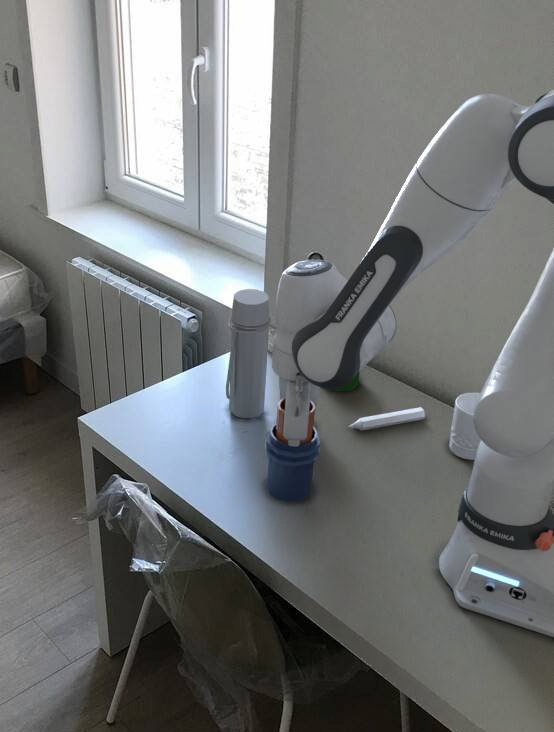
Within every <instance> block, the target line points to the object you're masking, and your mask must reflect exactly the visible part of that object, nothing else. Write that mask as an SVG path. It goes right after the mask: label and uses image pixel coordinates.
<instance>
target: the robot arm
mask: <svg viewBox="0 0 554 732" xmlns="http://www.w3.org/2000/svg"><path fill="white" fill-rule="evenodd" d="M515 180H517V181H518V182H519V183H520V185H522V186H523V187H524V188H526V189H527V190H529V191H530V192H532V193H533V194H535V195H537V196H540V197H542V198H545V199H546V200H547V201H549V202H550V203H551V204H552V205H554V88H553V89H551V90H550V91H548V92H546V93H544V94H542V95H540V96H539V97H538V98H537V99H536V100H535V102H534V104H532V105H522V104H520V103H518V102H516V101H514V100H513V99H511V98H509V97H506V96H505V95H501V94H495V93H481V94H477V95H475V96H472V97H470V98H468V99H467V100H466V101H464V102H463V103H462V104H461V105H460V106H459V107H458V108H457V109H456V111H454V113H453V114H452V115H451V116H450V117H449V118H448V119H447V120H446V122H445V123H444V124H443V125H442V126H441V127H440V129H439V130H438V131H437V133H436V134H435V135H434V137H433V138H432V139H431V141H430V142H429V144H428V145H427V146H426V148H425V149H424V150H423V151H422V154H421V155H420V157H419V158H418V160H417V161H416V163H415V164H414V166H413V168H412V169H411V171H410V173H409V175H408V176H407V178H406V180H405V182H404V184H403V186H402V187H401V189H400V191H399V193H398V194H397V196H396V198H395V200H394V202H393V203H392V206H391V207H390V211H389V212H388V214H387V215H386V218H385V219H384V221H383V223H382V224H381V226H380V228H379V230H378V231H377V234H376V236H375V237H374V239H373V241H372V243H371V245H370V246H369V249H368V250H367V252H366V253H365V255H364V257H362V259H361V261H360V263H359V264H358V266H357V267H356V268H355V270H354V272H353V273H352V274H351V276H350V277H349V279H346V278H345V277H344V276H343V275H342V274H340V273H341V272H339V271H338V269H337V268H336V266H335V265H334V264H333V263H331V262H330V261H327V260H324V259H306V260H302V261H298V262H295V263H294V264H291V265H290V266H289V267H287V268H286V269H285V270H284V271H283V272H282V274H281V276H280V278H279V283H278V287H277V291H276V292H277V293H276V300H275V309H274V310H275V311H274V320H275V324H276V331H275V333H274V336H273V343H272V358H271V359H272V360H271V369H272V371H273V373H274V374H275V375H276V376H278V379H279V378H280V379H281V381H282V382H284V383H285V384H287V388H286V402H285V417H284V431H283V435H284V438H285V439H288V444H289V446H296V447H297V446H299V443H300V440H305V439H306V437H307V432H308V421H309V409H310V387H311V385H316V386H318V387H320V389H325V390H330V389H331V390H330V391H334V389H340V388H343V387H344V386H346V385H347V384H348V383H349V382H350V381H351V380H352V379H353V378H354V377H355V376H356V374H357V373H358V372H359V371H360V372H361V370H362V369H363V368H364V367H365V366H367V364H368V363H370V362H371V361H372V360H373V359H374V358H375V357H376V356H378V354H380V353H381V352H382V351H383V350H384V348H386V347H387V346H388V345H389V343H391V342H392V341H393V339H394V338H395V335H396V333H397V332H396V331H397V317H396V315H395V312H394V309H393V308H392V306H391V305H392V303H393V302H394V300H395V299H396V297H397V296H398V295H399V294H400V293H401V292H402V291H403V290H404V289H405V288H406V287H407V286H408V285H409V284H410V283H411V282H412V281H414V280H415V279H416V278H417V277H418V276H419V275H421V274H423V273H424V272H425V271H426V270H428V269H429V268H430V267H431V266H433V265H434V264H436V263H437V262H438V261H440V260H441V259H442V258H443V257H445V256H446V255H448V254H450V253H451V252H452V251H453V250H454V249H455V248H457V247H458V246H459V245H461V243H463V242H464V241H465V240H466V239H467V238H468V237H469V236H470V235H471V234H472V233H473V232H474V231H476V229H477V228H478V227H479V226H480V225H481V224H482V222H483V221H484V220H485V219H486V218H487V217H488V216H489V214H490V213H491V211H492V210H493V209H494V207H495V206H496V205H497V204H498V202H499V201H500V199H501V198H502V196H503V195H504V194H505V192H506V191H507V190H508V188H509V187H510V186H511V185H512V183H514V182H515ZM480 393H481V394H480V396H479V398H478V401H477V404H476V407H475V411H474V416H473V421H474V427H475V430H476V432H477V434H478V436H479V437H480V439H481V442H480V444H479V446H478V449H477V453H476V457H475V460H473V466H472V470H471V473H470V479H469V482H468V485H467V487H466V488H465V489H464V491H463V493H462V495H461V499H460V502H459V506H458V511H457V512H458V515H457V519H456V520H457V524H456V526H455V529H454V532H453V533H452V535H451V537H450V540H449V541H448V543H447V545H446V546H445V548H444V549H443V550H442V551H441V553H440V555H439V558H438V568H439V571H440V574H441V576H442V578H443V579H444V580H445V582H446V583H447V585H448V586H449V587H450V588H451V589H452V591H453V596H454V599H455V602H456V604H457V605H458V606H460V607H461V608H464V609H466V610H469V611H472V612H475V613H478V614H481V615H484V616H487V617H491V618H493V619H495V620H500V621H502V622H506V623H507V624H508V623H509V624H512V625H515V626H517V627H521V628H523V629H526V630H530V631H533V632H535V633H539V634H541V635H545V636H548V637H551V638H554V513H553V511H552V510H551V506H550V505H551V503H552V499H553V495H554V248H552V250H551V252H550V255H549V257H548V260H547V262H546V264H545V265H544V268H543V270H542V273H541V274H540V277H539V279H538V281H537V283H536V286H535V288H534V290H533V291H532V294H531V297H530V299H529V300H528V302H527V304H526V306H525V308H524V310H523V311H522V313H521V314H520V317H519V318H518V320H517V322H516V324H515V326H514V327H513V330H512V331H511V333H510V335H509V337H508V339H507V341H506V342H505V344H504V346H503V348H502V350H501V352H500V354H499V356H498V357H497V359H496V361H495V362H494V365H493V367H492V369H491V372H489V375H488V377H487V379H486V380H485V383H484V385H483V387H482V389H481V392H480Z"/></svg>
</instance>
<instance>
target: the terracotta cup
mask: <svg viewBox="0 0 554 732" xmlns="http://www.w3.org/2000/svg"><path fill="white" fill-rule="evenodd" d="M285 402H286V397H285V398H283V399H281V400H280V399H279V400H278V403H277V410H276V421H275V423H276V436H275V438H277V439H278V440H279V441H281V442H284V443H287V444H288V439H285V438H284V435H283V431H284V417H285ZM315 415H316V409H315V405H314V403H313V402H312V401H311V400H310V409H309V421H308V432H307V437H306V439H305V440H300V443H299V444H305V443H307V442H310V441H311V440H312V435H313V426H314V423H315V422H314V421H315Z"/></svg>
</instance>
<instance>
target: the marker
mask: <svg viewBox="0 0 554 732" xmlns="http://www.w3.org/2000/svg"><path fill="white" fill-rule="evenodd" d="M425 413H426V412H425V409H423V408H422V407H421V406H419V407H414V408H408V409H403V410H398V411H392V412H391V411H390V412H386V413H381V414H375V415H370V416H364V417H359V418H358V419H357V420H356V421H355V422H353V423H351V424H350V425H348V426H346V428H348V429H349V428H350V429H356V430H359V431H368V430H372V429H378V428H383V427H388V426H395V425H400V424H405V423H411V422H416V421H422V420H424V419H425V418H426V414H425Z"/></svg>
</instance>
